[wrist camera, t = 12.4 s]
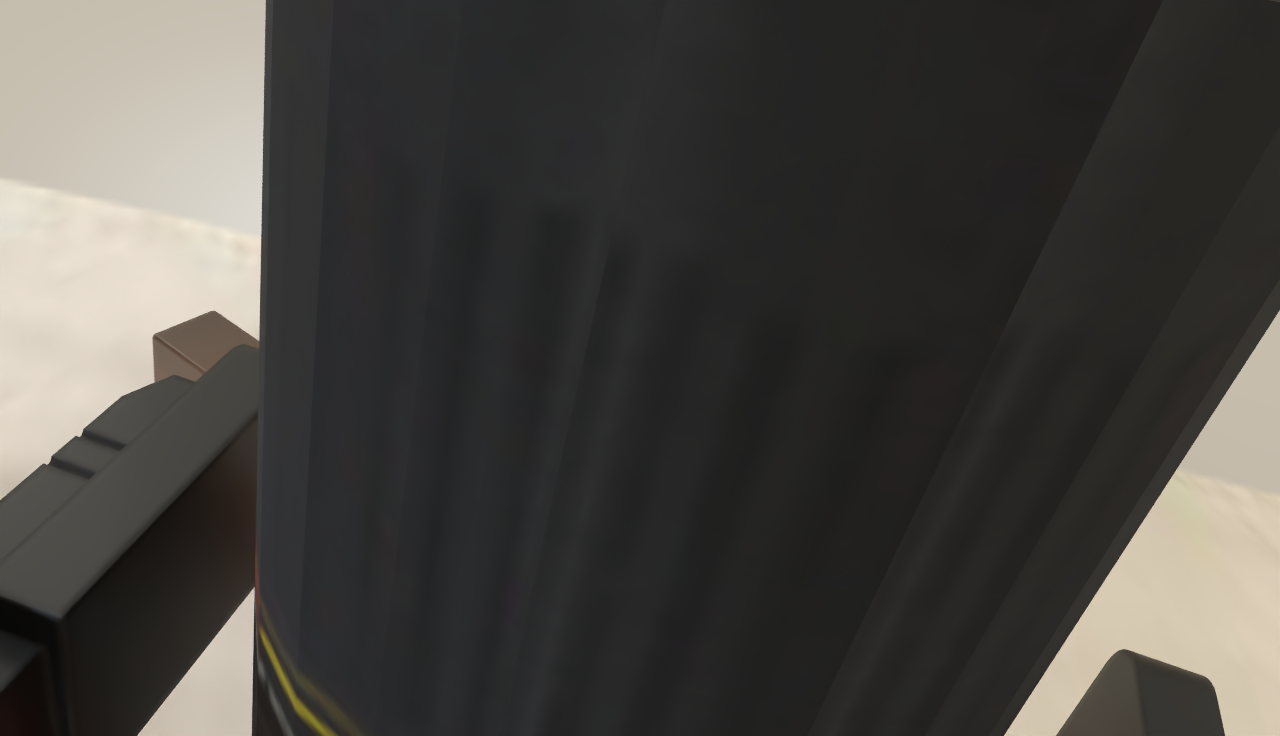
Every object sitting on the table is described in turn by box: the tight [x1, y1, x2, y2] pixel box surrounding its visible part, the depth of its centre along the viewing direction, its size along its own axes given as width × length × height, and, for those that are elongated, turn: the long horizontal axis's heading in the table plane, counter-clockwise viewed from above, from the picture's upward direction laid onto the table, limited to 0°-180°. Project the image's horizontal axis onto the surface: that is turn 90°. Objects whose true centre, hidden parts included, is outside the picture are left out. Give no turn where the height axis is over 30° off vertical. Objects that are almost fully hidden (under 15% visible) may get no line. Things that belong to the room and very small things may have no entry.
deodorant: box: [252, 0, 1280, 736], centre depth 10 cm, size 6×6×15 cm
